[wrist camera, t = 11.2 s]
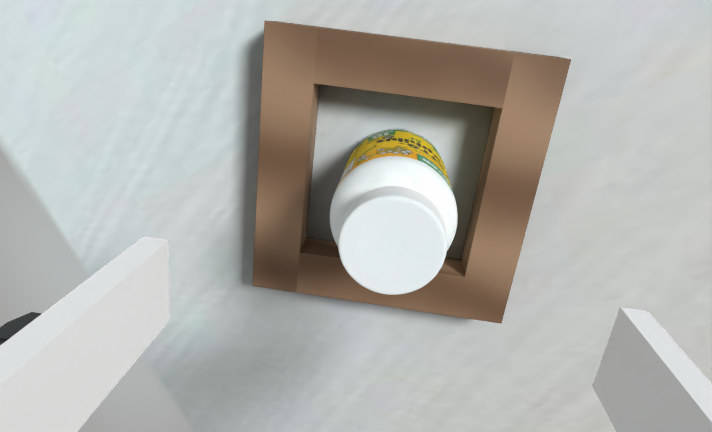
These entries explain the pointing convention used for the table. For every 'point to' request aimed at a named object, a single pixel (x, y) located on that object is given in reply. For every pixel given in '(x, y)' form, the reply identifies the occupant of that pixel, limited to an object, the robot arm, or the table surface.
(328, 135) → the table surface
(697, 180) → the table surface
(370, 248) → the supplement bottle
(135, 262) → the robot arm
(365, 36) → the holder frame
